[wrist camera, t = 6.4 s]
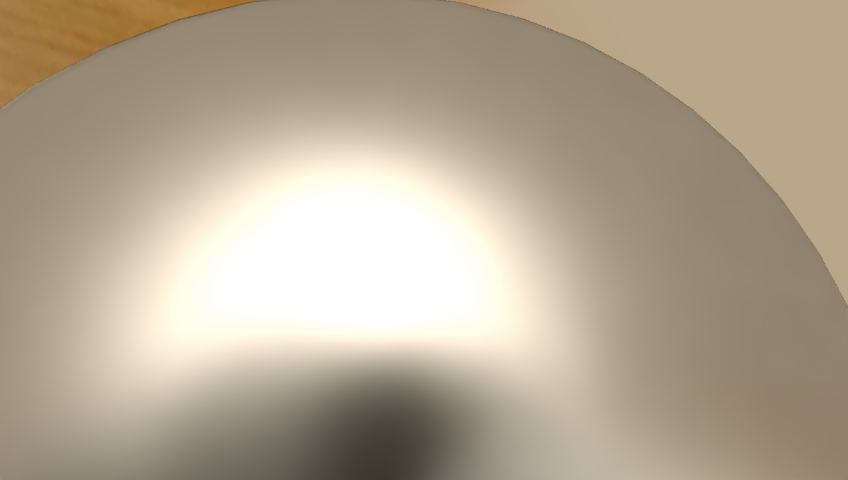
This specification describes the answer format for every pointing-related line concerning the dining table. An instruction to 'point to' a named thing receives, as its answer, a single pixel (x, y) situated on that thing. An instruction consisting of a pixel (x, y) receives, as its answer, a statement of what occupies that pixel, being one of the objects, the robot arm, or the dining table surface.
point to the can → (398, 264)
